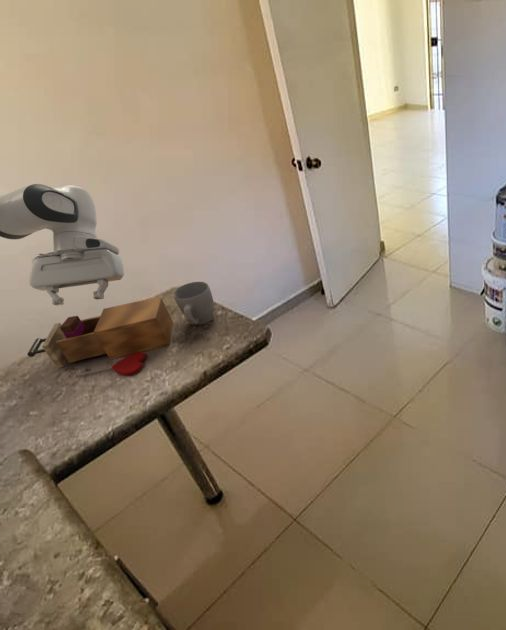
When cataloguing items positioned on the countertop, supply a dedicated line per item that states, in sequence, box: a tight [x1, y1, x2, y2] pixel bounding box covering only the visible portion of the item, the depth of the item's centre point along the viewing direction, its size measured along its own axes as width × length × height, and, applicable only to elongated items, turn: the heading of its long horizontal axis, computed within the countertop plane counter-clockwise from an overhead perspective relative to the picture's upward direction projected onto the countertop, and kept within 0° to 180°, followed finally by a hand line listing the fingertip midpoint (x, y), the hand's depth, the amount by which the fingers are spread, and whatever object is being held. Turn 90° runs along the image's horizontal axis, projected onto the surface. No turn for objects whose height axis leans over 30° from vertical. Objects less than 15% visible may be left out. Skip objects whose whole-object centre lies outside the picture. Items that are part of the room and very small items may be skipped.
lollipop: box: [74, 351, 147, 377], centre depth 104 cm, size 8×1×15 cm
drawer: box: [26, 315, 107, 369], centre depth 108 cm, size 17×10×7 cm, turn 111°
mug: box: [173, 281, 215, 326], centre depth 116 cm, size 12×9×10 cm
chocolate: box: [60, 315, 88, 338], centre depth 108 cm, size 2×5×8 cm, turn 11°
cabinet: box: [94, 296, 174, 360], centre depth 112 cm, size 14×11×9 cm
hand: (78, 301), depth 108 cm, fingers open, 8 cm apart
